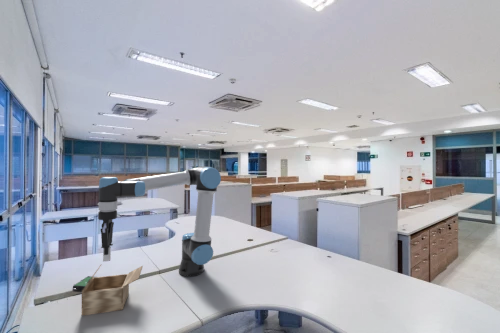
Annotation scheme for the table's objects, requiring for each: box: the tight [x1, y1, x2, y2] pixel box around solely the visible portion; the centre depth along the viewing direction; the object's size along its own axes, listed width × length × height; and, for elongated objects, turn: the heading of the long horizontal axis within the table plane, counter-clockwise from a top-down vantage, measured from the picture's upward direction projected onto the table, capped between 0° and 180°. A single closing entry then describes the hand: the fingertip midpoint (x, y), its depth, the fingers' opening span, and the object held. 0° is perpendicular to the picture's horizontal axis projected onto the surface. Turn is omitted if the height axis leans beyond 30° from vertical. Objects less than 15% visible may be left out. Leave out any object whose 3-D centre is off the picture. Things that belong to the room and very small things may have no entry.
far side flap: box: [81, 264, 103, 293], centre depth 110 cm, size 1×14×7 cm
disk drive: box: [72, 275, 95, 291], centre depth 128 cm, size 10×3×15 cm
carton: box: [81, 273, 130, 317], centre depth 112 cm, size 16×15×10 cm
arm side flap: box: [123, 265, 144, 287], centre depth 115 cm, size 1×14×7 cm
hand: (106, 260), depth 111 cm, fingers closed
